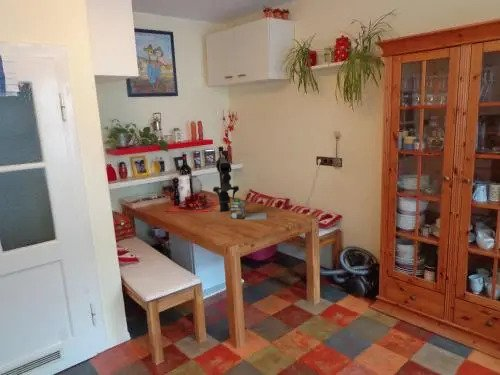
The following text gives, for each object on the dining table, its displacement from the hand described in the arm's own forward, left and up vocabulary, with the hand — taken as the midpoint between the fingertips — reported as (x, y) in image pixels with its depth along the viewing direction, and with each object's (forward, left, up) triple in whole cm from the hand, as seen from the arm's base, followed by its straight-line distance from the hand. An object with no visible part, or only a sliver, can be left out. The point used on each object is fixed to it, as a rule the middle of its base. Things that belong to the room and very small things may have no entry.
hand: (226, 200), depth 274 cm
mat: (+21, -1, -13) cm, 25 cm away
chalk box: (+8, -1, -13) cm, 16 cm away
